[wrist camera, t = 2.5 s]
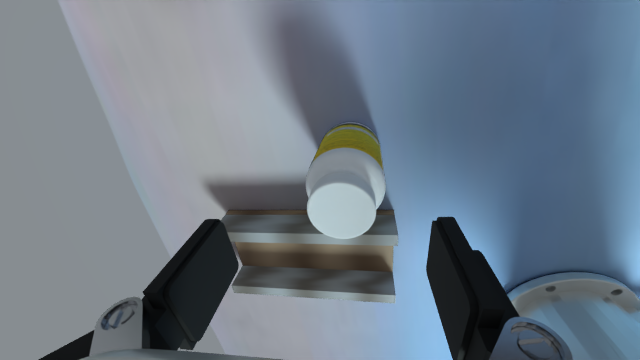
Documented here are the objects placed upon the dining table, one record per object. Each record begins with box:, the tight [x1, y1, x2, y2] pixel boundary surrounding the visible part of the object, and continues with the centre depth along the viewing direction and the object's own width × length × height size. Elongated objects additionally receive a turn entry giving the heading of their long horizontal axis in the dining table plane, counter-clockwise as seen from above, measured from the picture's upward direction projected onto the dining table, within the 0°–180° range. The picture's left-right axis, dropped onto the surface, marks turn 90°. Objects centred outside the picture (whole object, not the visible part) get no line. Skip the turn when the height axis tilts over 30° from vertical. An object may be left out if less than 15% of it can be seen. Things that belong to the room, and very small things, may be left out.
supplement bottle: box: [306, 122, 386, 239], centre depth 18 cm, size 5×5×10 cm
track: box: [221, 210, 398, 303], centre depth 27 cm, size 18×9×4 cm, turn 96°
